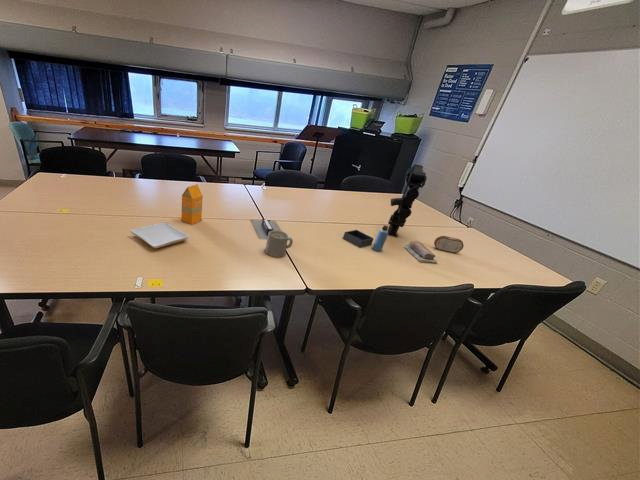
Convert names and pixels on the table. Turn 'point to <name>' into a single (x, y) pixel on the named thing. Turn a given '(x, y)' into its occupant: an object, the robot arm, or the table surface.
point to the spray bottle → (381, 239)
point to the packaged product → (420, 252)
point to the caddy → (358, 238)
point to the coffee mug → (277, 243)
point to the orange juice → (192, 204)
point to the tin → (448, 244)
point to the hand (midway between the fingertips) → (399, 222)
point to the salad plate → (160, 234)
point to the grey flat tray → (264, 227)
